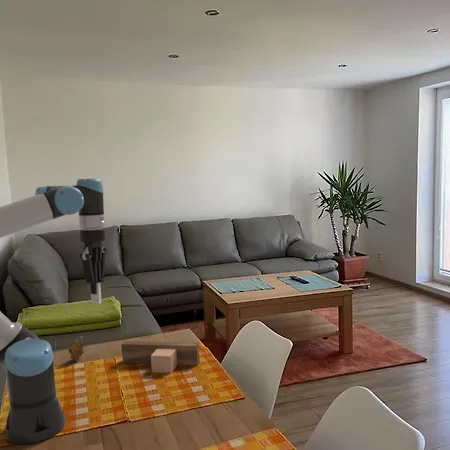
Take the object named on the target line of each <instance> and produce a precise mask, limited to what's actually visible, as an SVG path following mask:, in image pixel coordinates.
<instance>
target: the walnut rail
mask: <svg viewBox="0 0 450 450" xmlns="http://www.w3.org/2000/svg"><path fill="white" fill-rule="evenodd" d="M199 343H200V342H188V341H187V342H185V341H183V342H180V341H179V342H178V341H145V340H144V341H139V340H137V341H136V340H134V341H132V340H131V341H130V340H129V341H128V340H124V341H123V342H122V343H121V359H122V363H124V364H129V363H130V364H148V365H149V364H151V355H152V354H153V353H154V352H155V350H156V349H157V348H174V349H177V365H182V366H183V365H186V366H190V365H191V366H198V365H199V364H200V345H199Z"/></svg>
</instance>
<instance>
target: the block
mask: <svg viewBox="0 0 450 450" xmlns="http://www.w3.org/2000/svg"><path fill="white" fill-rule="evenodd" d="M177 366H178V364H177V349H174V348H157V349H156V350H155V352H154V353H153V354H152V355H151V373H160V374H161V373H164V374H165V373H166V374H172V373H173V371H174V370H175V369H176V367H177Z"/></svg>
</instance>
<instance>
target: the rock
mask: <svg viewBox="0 0 450 450" xmlns="http://www.w3.org/2000/svg"><path fill="white" fill-rule="evenodd" d="M79 338H80V340H79V339H74V340H72V342H71V345H70V346H69V348H68V352H69V354H70V359H72V361H75V362H78V361H79V359H80V358H81V357H82V355H84V353H85V352H84V349H83V344H82V343H81V341H82V342H83V341H85V339H84V338H85V337H84V335H81V336H80V337H79Z"/></svg>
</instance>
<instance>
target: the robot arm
mask: <svg viewBox="0 0 450 450" xmlns="http://www.w3.org/2000/svg"><path fill="white" fill-rule="evenodd" d="M103 187H104V186H103V181H102V179H100V178H78V179H77V181H76V184H74V185H46V186H38V187H37V188H36V189H35V193H34V194H35V195H33V196H30V197H27V198H23V199H20V200H18V201H14V202H11V203H9V204H6V205H5V204H4V205H2V206H0V239H2V238H4V237H5V238H6V237H7V236H10V235H13V234H16V233H18V232H19V233H20V232H21V231H24V230H27V229H29V228H30V229H31V228H32V227H35V226H38V225H41V224H43V223H46V222H50V221H52V220H55V219H59V218H62V217H63V216H64V217H65V216H68V215H69V216H71V215H75V214H77V213H78V222H79V223H78V224H79V229H81V230H79V239H80V240H79V241H80V242H81V243H84V248H83V250H84V252H83V253H80V255H79V258H80V260H81V264H82V269H83V274H84V278H85V279H84V280H85V284H87V285H88V284H89V285H90V288H89V289H90V302H91V303H90V304H91V305H100V304H102V302H103V301H102V289H101V287H102V286H101V285H102V284H101V283H104V281H105V280H104V277H105V265H106V254H107V248H106V247H103V243H102V242H105V241H106V230H105V226H106V225H105V221H106V218H105V205H104V202H105V201H104V188H103ZM52 349H53V348H52V346H51V344H50V343H49V341H47V340H44V339H40V338H39V336H38V335H36V333H34V332H32V331H30V330H29V329H28V328H27V327H26V326H25V325H24V324H22V323H21V322H12V321H11V320H10V319H9V317H7V316H6V315H5V314H4V313H2V311H1V310H0V366H1V367H2V368H3V370H4V373H5V376H6V382H7V389H8V391H7V392H8V399H9V409H8V415H7V418H6V423H5V427H4V429H5V430H4V432H5V437H6V438H5V439H6V440H7V441H8V442H10V443H12V444H16V445H29V444H35V443H39V442H42V441H45V440H48V439H50V438H52V437H53V436H56V435H58V434H59V433H60V432H61V431H63V429H64V427H65V425H66V414H65V412H64V410H63V408H62V406H61V403H60V401H59V400H58V397H57V391H56V389H57V388H56V381H55V380H56V379H55V368H54V353H53V352H54V351H53V350H52Z"/></svg>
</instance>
